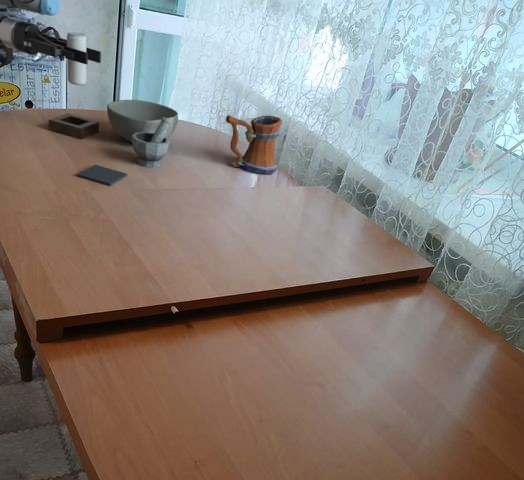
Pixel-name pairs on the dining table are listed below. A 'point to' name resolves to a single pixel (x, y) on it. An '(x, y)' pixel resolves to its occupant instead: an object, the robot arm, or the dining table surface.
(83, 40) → the beverage can
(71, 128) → the frame
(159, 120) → the bowl
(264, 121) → the mug
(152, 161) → the mortar and pestle
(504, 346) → the dining table surface
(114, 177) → the mat
